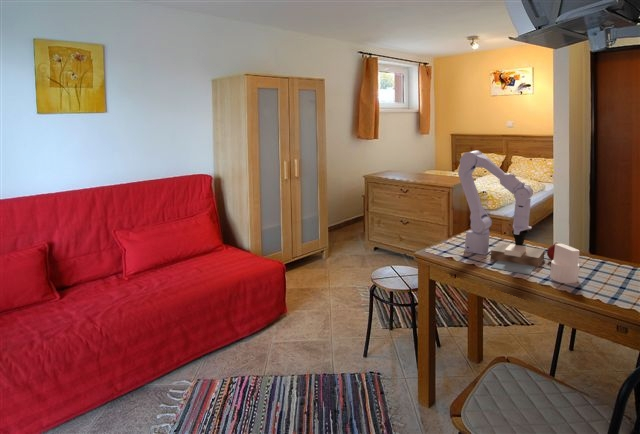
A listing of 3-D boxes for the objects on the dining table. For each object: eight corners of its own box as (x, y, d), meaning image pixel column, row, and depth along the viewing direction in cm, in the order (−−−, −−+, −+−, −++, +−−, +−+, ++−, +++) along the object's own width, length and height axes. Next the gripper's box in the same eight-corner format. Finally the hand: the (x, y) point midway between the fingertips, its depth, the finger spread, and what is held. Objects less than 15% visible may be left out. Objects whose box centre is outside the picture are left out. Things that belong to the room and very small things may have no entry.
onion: (561, 264, 175) (563, 245, 174) (545, 262, 178) (547, 243, 177) (562, 260, 180) (564, 241, 178) (546, 258, 183) (548, 239, 181)
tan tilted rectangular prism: (504, 254, 177) (504, 249, 177) (510, 248, 184) (510, 244, 184) (520, 257, 174) (520, 252, 173) (525, 251, 181) (526, 246, 180)
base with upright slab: (583, 281, 158) (587, 249, 156) (561, 284, 157) (565, 252, 154) (565, 273, 167) (568, 242, 164) (544, 275, 165) (547, 244, 162)
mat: (491, 267, 174) (491, 267, 174) (498, 260, 182) (498, 260, 182) (529, 274, 166) (529, 274, 166) (535, 267, 174) (535, 266, 174)
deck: (490, 259, 184) (491, 250, 183) (498, 251, 193) (499, 243, 192) (537, 267, 173) (538, 257, 172) (543, 259, 182) (544, 249, 182)
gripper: (528, 220, 172) (525, 253, 175) (536, 213, 183) (533, 244, 186) (509, 218, 176) (506, 250, 179) (517, 211, 187) (515, 241, 190)
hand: (518, 247), depth 183 cm, fingers closed
